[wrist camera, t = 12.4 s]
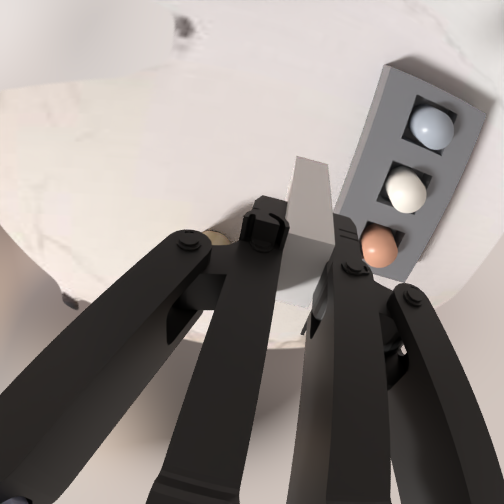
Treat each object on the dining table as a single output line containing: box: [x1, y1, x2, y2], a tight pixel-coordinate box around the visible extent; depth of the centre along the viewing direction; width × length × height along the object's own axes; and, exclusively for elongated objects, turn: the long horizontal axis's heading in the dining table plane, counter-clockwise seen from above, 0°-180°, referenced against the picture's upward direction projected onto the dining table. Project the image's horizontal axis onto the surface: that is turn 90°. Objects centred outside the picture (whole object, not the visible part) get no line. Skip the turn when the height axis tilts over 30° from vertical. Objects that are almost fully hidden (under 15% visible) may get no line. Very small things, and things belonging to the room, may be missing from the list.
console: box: [333, 65, 487, 283], centre depth 39 cm, size 28×14×4 cm, turn 168°
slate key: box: [408, 104, 454, 150], centre depth 32 cm, size 5×5×4 cm
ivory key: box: [385, 166, 426, 213], centre depth 38 cm, size 5×5×4 cm
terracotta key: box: [361, 223, 398, 268], centre depth 43 cm, size 5×5×4 cm
